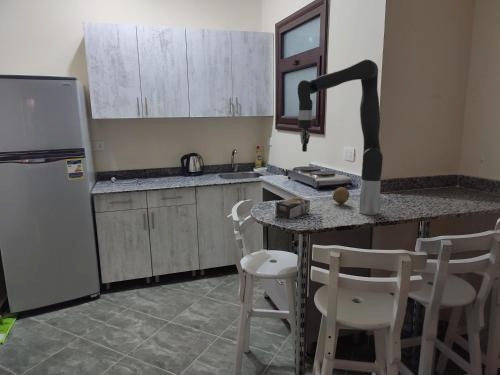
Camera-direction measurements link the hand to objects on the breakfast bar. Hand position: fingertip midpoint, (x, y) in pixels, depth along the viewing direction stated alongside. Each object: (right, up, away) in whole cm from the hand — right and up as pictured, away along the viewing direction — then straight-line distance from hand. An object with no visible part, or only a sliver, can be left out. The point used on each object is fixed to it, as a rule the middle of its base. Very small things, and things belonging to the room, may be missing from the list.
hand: (304, 151), depth 194 cm
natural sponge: (+21, -29, +6) cm, 37 cm away
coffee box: (-2, -28, -10) cm, 30 cm away
